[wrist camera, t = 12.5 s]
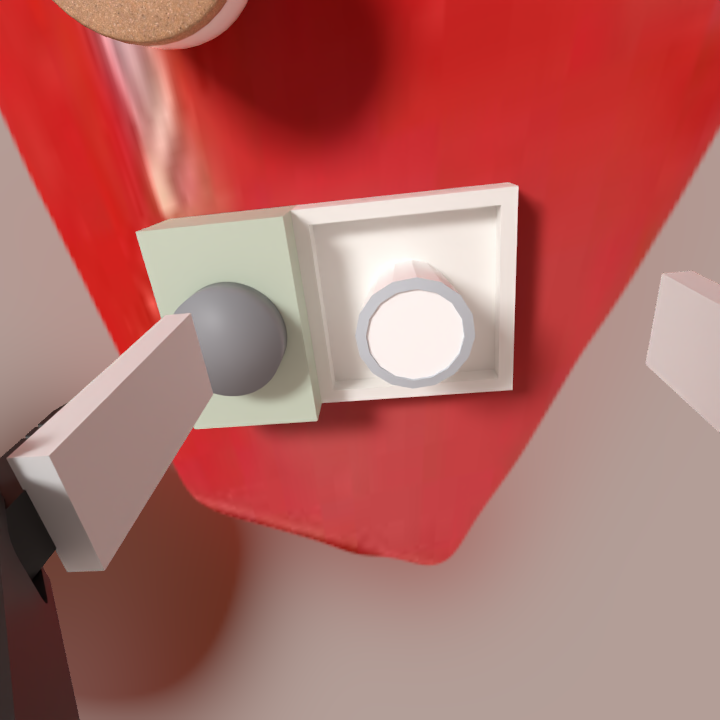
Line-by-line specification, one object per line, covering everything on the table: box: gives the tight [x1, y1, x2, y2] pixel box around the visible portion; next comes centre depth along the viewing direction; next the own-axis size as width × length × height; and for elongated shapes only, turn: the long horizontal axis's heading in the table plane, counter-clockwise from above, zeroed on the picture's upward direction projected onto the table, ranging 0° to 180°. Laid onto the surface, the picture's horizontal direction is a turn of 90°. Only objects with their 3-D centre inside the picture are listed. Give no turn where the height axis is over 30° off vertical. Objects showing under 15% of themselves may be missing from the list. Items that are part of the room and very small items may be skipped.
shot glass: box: [355, 259, 475, 389], centre depth 30 cm, size 7×7×7 cm
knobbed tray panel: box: [136, 182, 518, 429], centre depth 32 cm, size 14×23×7 cm, turn 96°
